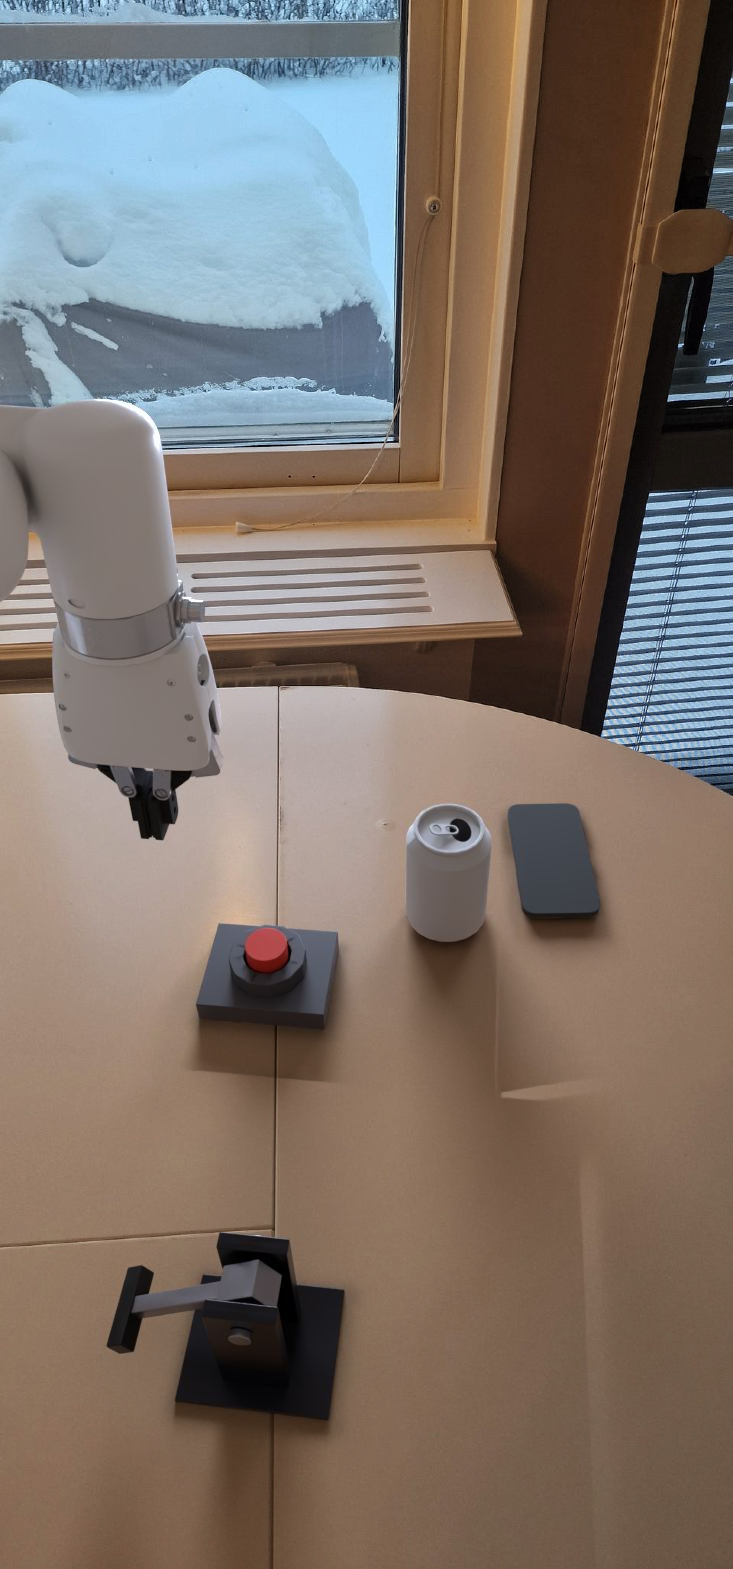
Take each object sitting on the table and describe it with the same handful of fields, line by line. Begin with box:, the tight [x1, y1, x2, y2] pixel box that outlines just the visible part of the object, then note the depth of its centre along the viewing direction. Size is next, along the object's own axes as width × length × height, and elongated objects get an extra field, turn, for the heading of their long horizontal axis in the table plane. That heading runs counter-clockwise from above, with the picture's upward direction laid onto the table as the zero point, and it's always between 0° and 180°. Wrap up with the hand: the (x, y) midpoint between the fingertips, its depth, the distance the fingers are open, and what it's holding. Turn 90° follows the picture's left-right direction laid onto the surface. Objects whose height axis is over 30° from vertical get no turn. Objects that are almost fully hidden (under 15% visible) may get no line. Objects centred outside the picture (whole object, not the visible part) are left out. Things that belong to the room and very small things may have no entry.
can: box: [405, 803, 493, 943], centre depth 93 cm, size 8×8×12 cm
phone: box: [507, 802, 601, 919], centre depth 102 cm, size 7×1×15 cm
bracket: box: [174, 1231, 346, 1421], centre depth 66 cm, size 10×8×12 cm
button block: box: [195, 922, 340, 1030], centre depth 91 cm, size 11×9×4 cm
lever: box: [105, 1260, 282, 1355], centre depth 65 cm, size 12×5×2 cm
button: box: [245, 928, 288, 973], centre depth 89 cm, size 4×4×2 cm
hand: (157, 826), depth 76 cm, fingers closed
